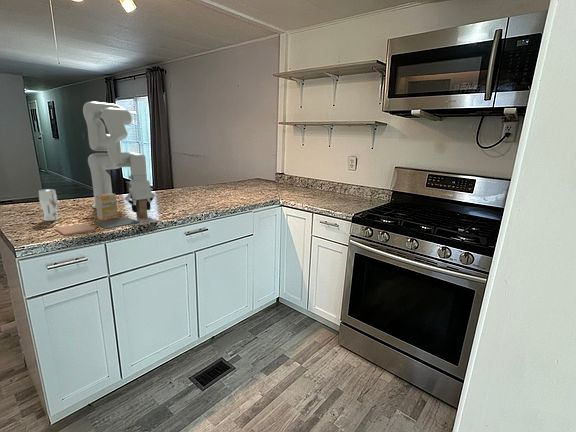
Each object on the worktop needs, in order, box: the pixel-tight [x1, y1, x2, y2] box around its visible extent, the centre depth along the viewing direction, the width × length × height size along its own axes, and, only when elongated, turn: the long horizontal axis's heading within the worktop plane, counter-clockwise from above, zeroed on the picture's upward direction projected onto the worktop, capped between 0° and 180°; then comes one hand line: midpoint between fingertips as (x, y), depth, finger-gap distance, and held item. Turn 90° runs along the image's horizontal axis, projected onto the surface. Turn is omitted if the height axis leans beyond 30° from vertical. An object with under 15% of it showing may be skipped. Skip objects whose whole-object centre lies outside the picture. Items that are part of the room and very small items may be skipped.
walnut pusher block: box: [135, 199, 148, 219], centre depth 166 cm, size 4×4×10 cm
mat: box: [94, 216, 140, 230], centre depth 155 cm, size 13×16×1 cm
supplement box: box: [95, 192, 119, 222], centre depth 160 cm, size 8×5×13 cm, turn 151°
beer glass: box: [38, 188, 60, 222], centre depth 155 cm, size 7×7×15 cm
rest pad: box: [55, 223, 96, 237], centre depth 142 cm, size 12×12×1 cm
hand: (141, 210), depth 166 cm, fingers open, 6 cm apart
